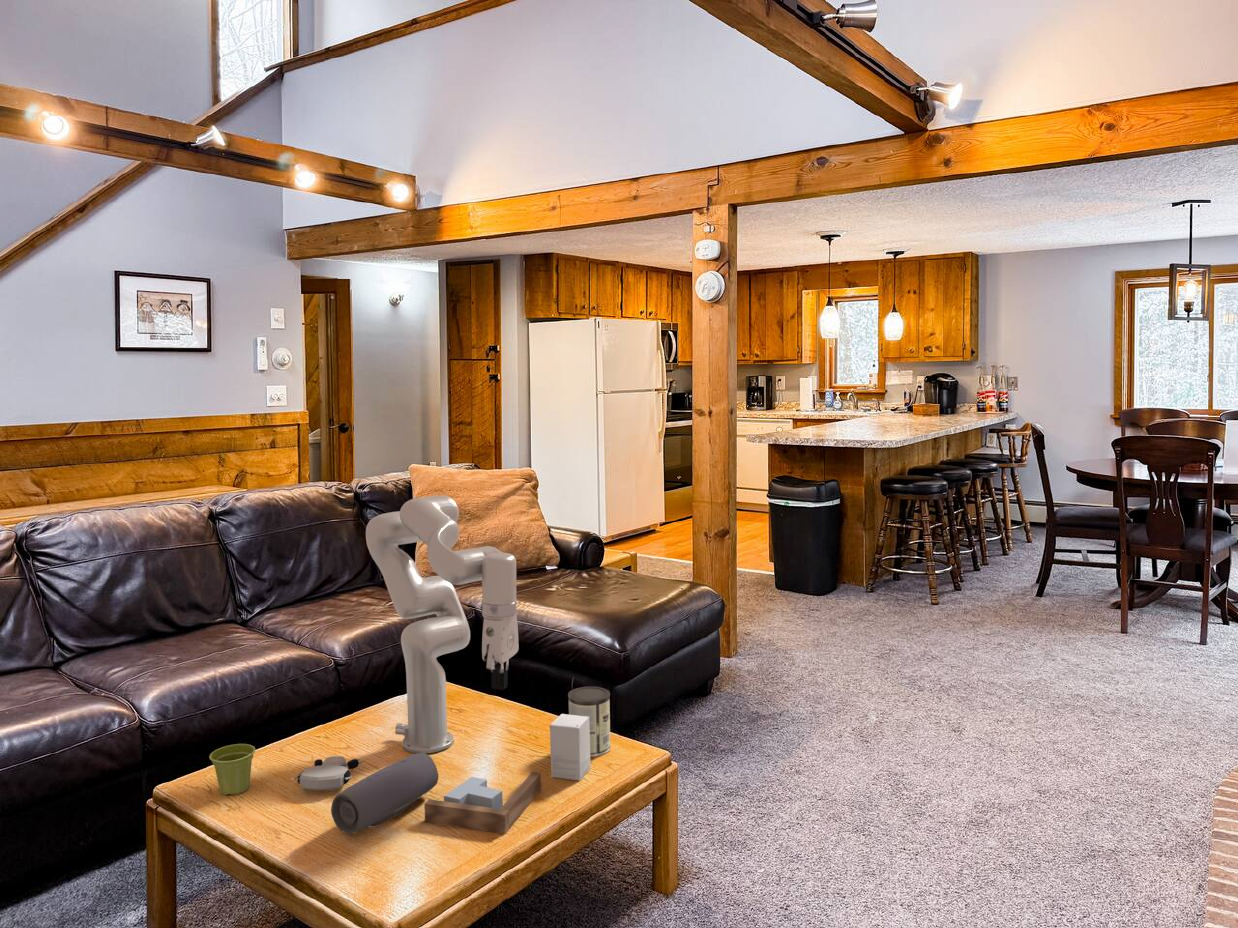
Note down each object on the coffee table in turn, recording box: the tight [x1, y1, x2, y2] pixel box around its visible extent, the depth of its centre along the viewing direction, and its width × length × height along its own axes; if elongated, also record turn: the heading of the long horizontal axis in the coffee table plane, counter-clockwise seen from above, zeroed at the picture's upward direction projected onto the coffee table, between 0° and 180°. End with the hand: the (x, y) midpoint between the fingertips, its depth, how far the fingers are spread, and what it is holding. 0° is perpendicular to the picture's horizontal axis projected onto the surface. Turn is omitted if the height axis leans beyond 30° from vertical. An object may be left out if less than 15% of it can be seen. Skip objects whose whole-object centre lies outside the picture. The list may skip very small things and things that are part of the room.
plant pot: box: [209, 743, 256, 796], centre depth 202 cm, size 9×9×9 cm
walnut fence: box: [424, 771, 542, 834], centre depth 194 cm, size 18×20×4 cm
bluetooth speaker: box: [330, 753, 439, 835], centre depth 190 cm, size 23×9×10 cm, turn 149°
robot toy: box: [291, 755, 363, 792], centre depth 206 cm, size 12×4×15 cm
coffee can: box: [567, 686, 611, 758], centre depth 222 cm, size 10×10×14 cm
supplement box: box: [549, 713, 591, 782], centre depth 209 cm, size 7×7×13 cm
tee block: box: [443, 776, 504, 809], centre depth 193 cm, size 10×10×4 cm
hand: (499, 687), depth 204 cm, fingers closed
